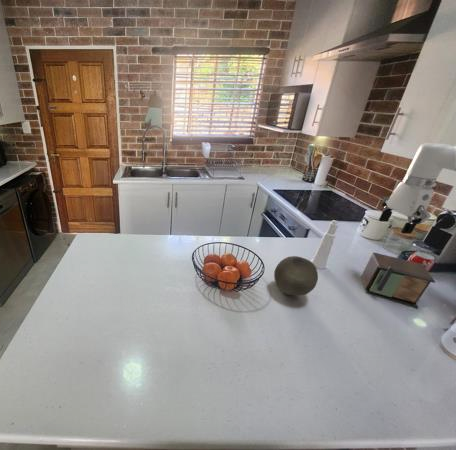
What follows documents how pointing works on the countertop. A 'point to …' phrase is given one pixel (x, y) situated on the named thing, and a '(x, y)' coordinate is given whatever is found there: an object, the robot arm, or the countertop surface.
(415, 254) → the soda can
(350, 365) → the countertop surface
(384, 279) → the sliding door
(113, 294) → the countertop surface
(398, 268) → the cupboard
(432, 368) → the countertop surface
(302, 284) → the cantaloupe
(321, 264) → the cosmetic bottle
